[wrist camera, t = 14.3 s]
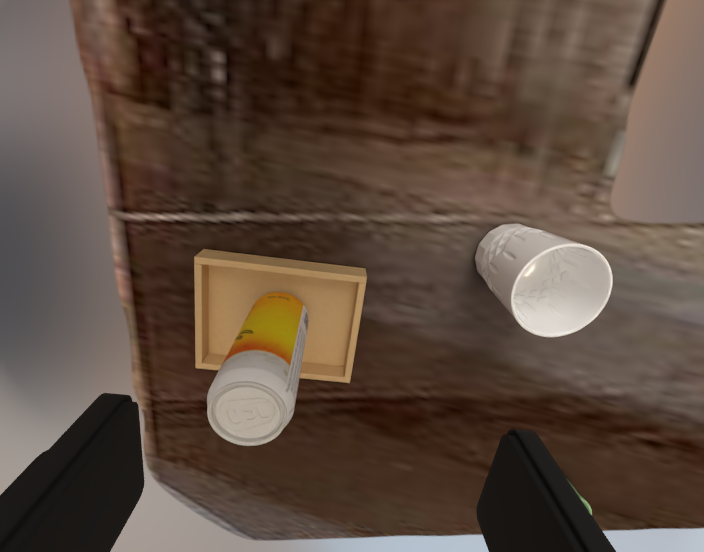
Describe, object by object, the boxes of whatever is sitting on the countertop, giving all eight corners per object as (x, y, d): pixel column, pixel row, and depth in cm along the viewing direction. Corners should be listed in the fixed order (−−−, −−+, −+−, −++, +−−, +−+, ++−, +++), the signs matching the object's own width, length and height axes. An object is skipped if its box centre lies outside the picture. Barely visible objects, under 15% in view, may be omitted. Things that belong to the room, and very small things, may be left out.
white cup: (530, 294, 39) (590, 342, 30) (460, 285, 39) (498, 331, 29) (555, 223, 37) (629, 251, 27) (480, 211, 36) (529, 237, 27)
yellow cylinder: (244, 295, 38) (187, 388, 24) (301, 283, 37) (277, 369, 23) (261, 345, 40) (219, 457, 26) (315, 333, 39) (302, 441, 25)
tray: (203, 248, 36) (193, 256, 34) (365, 268, 38) (367, 277, 35) (204, 354, 41) (195, 368, 38) (349, 369, 42) (349, 383, 39)
